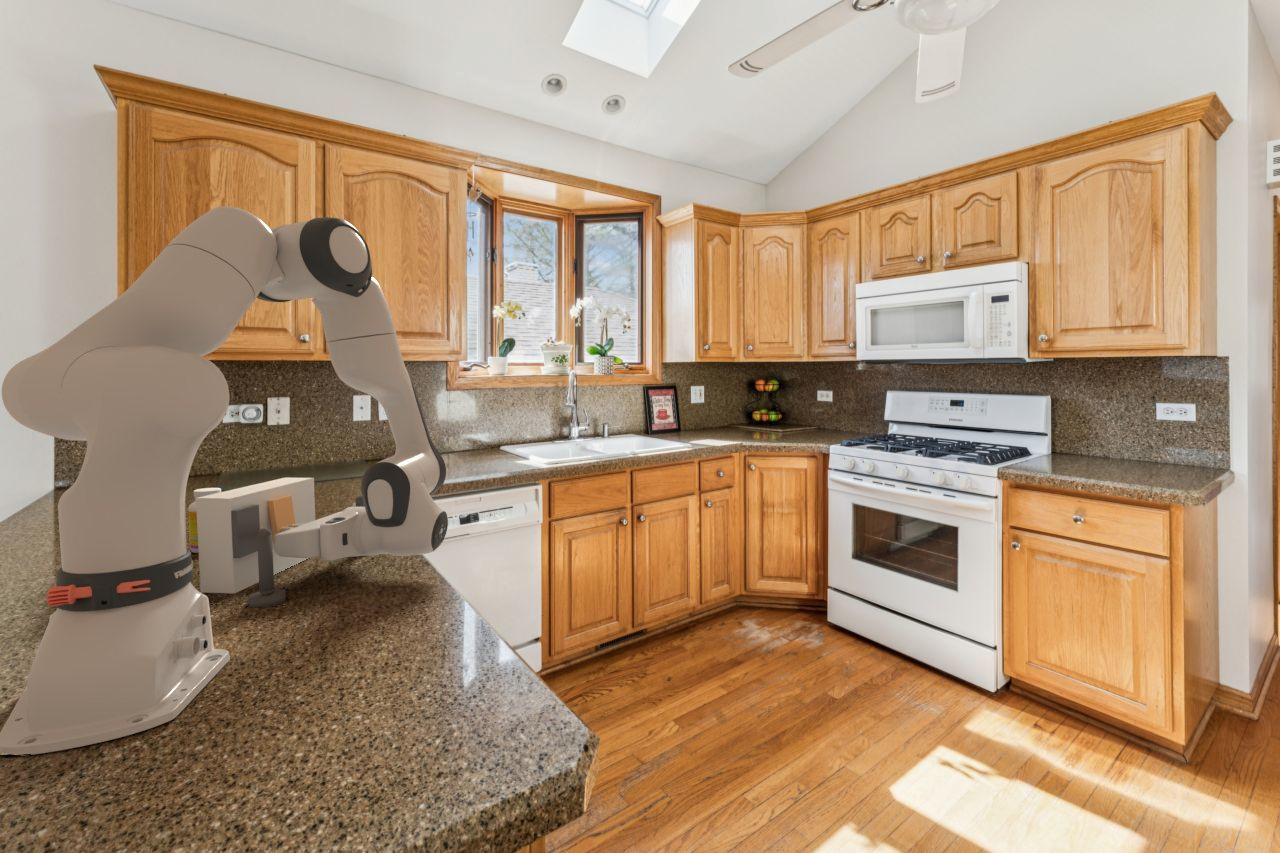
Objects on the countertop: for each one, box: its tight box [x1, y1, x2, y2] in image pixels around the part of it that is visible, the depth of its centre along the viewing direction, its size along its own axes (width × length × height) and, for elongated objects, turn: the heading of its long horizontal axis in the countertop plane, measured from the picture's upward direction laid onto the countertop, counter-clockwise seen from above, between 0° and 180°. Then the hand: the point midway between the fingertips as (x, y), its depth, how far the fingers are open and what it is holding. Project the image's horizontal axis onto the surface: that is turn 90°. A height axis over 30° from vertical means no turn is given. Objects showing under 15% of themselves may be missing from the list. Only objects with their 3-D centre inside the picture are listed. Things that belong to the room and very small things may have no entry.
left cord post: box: [247, 528, 287, 609], centre depth 94 cm, size 5×5×12 cm
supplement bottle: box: [187, 487, 222, 554], centre depth 123 cm, size 7×7×13 cm
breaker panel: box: [196, 477, 316, 594], centre depth 108 cm, size 6×22×16 cm, turn 176°
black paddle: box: [231, 505, 260, 558], centre depth 100 cm, size 1×5×8 cm, turn 176°
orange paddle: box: [268, 495, 295, 543], centre depth 108 cm, size 1×5×8 cm, turn 175°
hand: (285, 531), depth 108 cm, fingers closed, pressing on orange paddle
